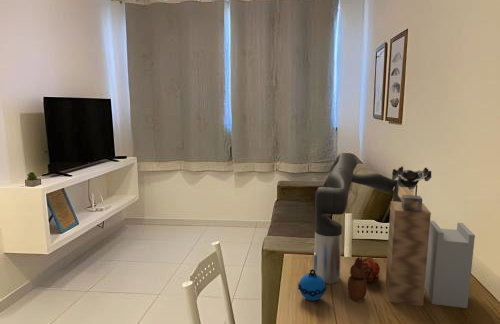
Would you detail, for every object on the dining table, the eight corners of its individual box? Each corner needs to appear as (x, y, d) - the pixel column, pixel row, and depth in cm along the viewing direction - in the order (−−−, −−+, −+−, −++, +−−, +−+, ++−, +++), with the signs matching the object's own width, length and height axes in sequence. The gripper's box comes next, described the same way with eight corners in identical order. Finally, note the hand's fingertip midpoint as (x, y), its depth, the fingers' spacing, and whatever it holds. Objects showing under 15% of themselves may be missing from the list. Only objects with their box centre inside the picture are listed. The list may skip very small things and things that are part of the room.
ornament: (323, 292, 123) (324, 264, 121) (326, 306, 115) (327, 276, 113) (297, 291, 124) (298, 263, 122) (298, 305, 115) (299, 275, 114)
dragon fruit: (365, 292, 127) (363, 280, 138) (387, 279, 125) (383, 269, 137) (351, 270, 128) (349, 261, 139) (373, 258, 126) (369, 249, 138)
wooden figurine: (366, 304, 116) (369, 259, 113) (347, 302, 117) (349, 257, 115) (364, 294, 122) (367, 251, 120) (346, 292, 123) (348, 249, 121)
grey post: (432, 303, 116) (438, 232, 113) (424, 285, 128) (429, 220, 124) (467, 308, 114) (474, 235, 110) (456, 289, 126) (462, 222, 122)
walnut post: (388, 301, 118) (395, 210, 113) (385, 285, 128) (390, 201, 123) (422, 305, 115) (430, 212, 111) (416, 288, 126) (423, 203, 121)
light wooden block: (403, 210, 113) (404, 197, 112) (395, 195, 132) (395, 184, 131) (421, 211, 112) (422, 198, 111) (410, 195, 131) (410, 184, 130)
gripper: (389, 172, 160) (394, 159, 146) (425, 174, 157) (434, 161, 142) (389, 189, 158) (394, 177, 143) (425, 191, 154) (434, 179, 140)
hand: (414, 169), depth 143 cm, fingers open, 8 cm apart
